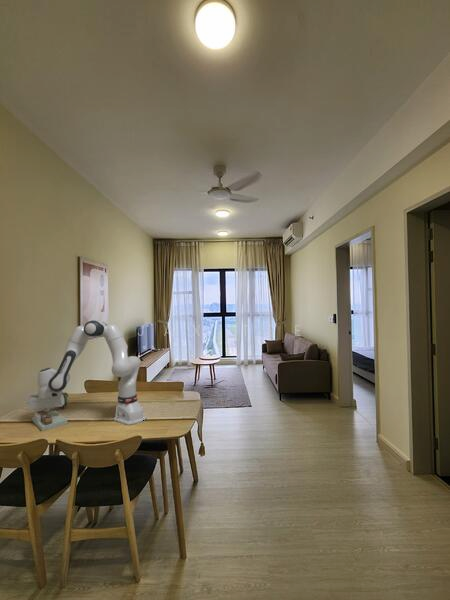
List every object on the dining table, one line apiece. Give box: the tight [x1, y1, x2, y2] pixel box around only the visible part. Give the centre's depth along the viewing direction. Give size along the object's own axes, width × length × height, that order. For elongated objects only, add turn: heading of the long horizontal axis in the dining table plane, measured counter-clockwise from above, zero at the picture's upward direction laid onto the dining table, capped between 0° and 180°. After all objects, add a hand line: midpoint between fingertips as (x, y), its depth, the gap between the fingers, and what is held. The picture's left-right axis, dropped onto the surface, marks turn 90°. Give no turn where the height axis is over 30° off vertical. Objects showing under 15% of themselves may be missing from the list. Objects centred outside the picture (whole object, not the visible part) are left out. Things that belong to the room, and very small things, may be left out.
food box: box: [31, 409, 69, 432], centre depth 184 cm, size 24×14×6 cm, turn 46°
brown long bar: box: [36, 409, 52, 425], centre depth 180 cm, size 18×4×4 cm, turn 47°
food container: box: [53, 391, 69, 410], centre depth 210 cm, size 12×6×10 cm, turn 74°
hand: (47, 414), depth 186 cm, fingers closed, pressing on brown long bar
